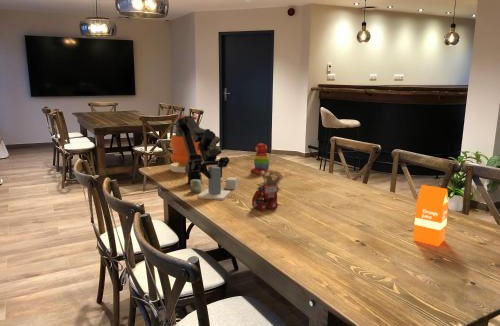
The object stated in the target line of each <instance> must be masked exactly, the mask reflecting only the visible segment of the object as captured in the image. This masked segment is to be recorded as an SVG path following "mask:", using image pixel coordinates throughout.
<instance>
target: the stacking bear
mask: <svg viewBox="0 0 500 326" xmlns="http://www.w3.org/2000/svg"><path fill="white" fill-rule="evenodd" d="M267 151H268V146H267V144H265V143H261V142H259V143H258V144H257V145H256V146H255V152H256V153H255V155H254V158H253V165H254V167H253V168H251V169H250V172H251V173H255V175H260V173H261V171H264V172H265V173H268V171H269V170H270V169H269V167H270V157H269V154H268V153H267ZM260 176H261V175H260Z"/></svg>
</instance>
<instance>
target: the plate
mask: <svg viewBox="0 0 500 326" xmlns="http://www.w3.org/2000/svg"><path fill="white" fill-rule="evenodd" d="M231 193H232V190H227V189H226V190H224V189H221V194H216V195H211V194H210V193H209V191H208V188H206V189H205V190H203V191H202V192H200V193H198V195H196V197H197V199H205V200H206V199H207V200H216V201H217V200H218V201H224V200H225V199H226V198H227V197H228V196H229V195H230V194H231Z"/></svg>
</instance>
